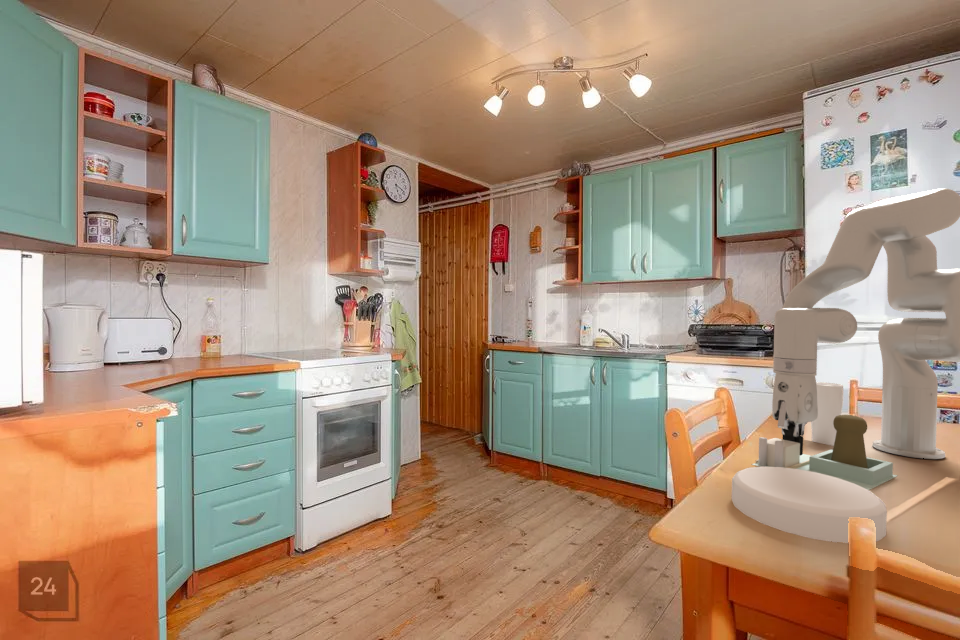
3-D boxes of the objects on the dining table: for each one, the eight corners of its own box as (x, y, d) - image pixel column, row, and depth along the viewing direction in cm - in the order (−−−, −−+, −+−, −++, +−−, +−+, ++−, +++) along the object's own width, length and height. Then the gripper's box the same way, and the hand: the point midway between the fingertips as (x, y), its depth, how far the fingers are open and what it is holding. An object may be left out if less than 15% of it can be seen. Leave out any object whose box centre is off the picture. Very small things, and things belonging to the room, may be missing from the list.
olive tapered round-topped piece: (876, 478, 86) (878, 420, 86) (840, 475, 88) (842, 418, 87) (856, 468, 92) (857, 413, 92) (822, 465, 94) (824, 411, 93)
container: (905, 560, 60) (906, 524, 60) (730, 523, 70) (731, 492, 70) (868, 505, 77) (868, 478, 77) (732, 482, 87) (732, 458, 87)
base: (793, 456, 103) (793, 427, 103) (897, 481, 88) (898, 447, 88) (751, 470, 94) (752, 437, 94) (860, 501, 79) (861, 461, 78)
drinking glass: (840, 443, 116) (841, 383, 115) (843, 449, 110) (845, 386, 110) (807, 438, 119) (808, 381, 119) (808, 444, 114) (810, 384, 113)
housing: (775, 459, 98) (775, 437, 97) (799, 465, 94) (799, 443, 94) (760, 463, 94) (761, 441, 94) (785, 470, 90) (785, 447, 90)
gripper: (797, 370, 89) (795, 464, 90) (830, 367, 98) (828, 453, 98) (757, 366, 96) (755, 454, 96) (791, 363, 104) (789, 444, 104)
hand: (792, 453), depth 97 cm, fingers closed
